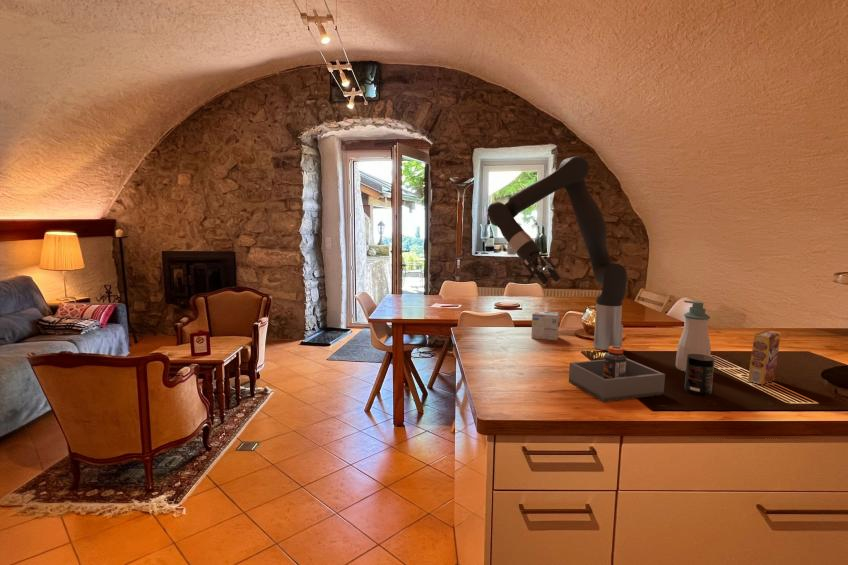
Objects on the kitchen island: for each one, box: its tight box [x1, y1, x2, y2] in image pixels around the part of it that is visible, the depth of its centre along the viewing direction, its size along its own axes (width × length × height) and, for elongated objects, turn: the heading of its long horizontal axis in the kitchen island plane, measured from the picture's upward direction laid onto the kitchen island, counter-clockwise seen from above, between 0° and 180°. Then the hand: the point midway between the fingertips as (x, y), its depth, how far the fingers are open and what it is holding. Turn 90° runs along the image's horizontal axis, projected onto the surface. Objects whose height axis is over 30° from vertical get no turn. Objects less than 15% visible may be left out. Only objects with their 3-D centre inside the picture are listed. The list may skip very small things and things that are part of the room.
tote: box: [568, 357, 666, 403], centre depth 130 cm, size 20×16×6 cm
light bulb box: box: [530, 310, 560, 341], centre depth 188 cm, size 11×7×11 cm, turn 71°
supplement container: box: [683, 354, 716, 397], centre depth 127 cm, size 7×7×10 cm
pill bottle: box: [603, 346, 627, 379], centre depth 130 cm, size 6×6×11 cm
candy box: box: [747, 330, 782, 386], centre depth 136 cm, size 9×4×15 cm, turn 123°
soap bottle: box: [675, 300, 712, 373], centre depth 146 cm, size 10×10×23 cm
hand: (552, 281), depth 153 cm, fingers open, 8 cm apart
